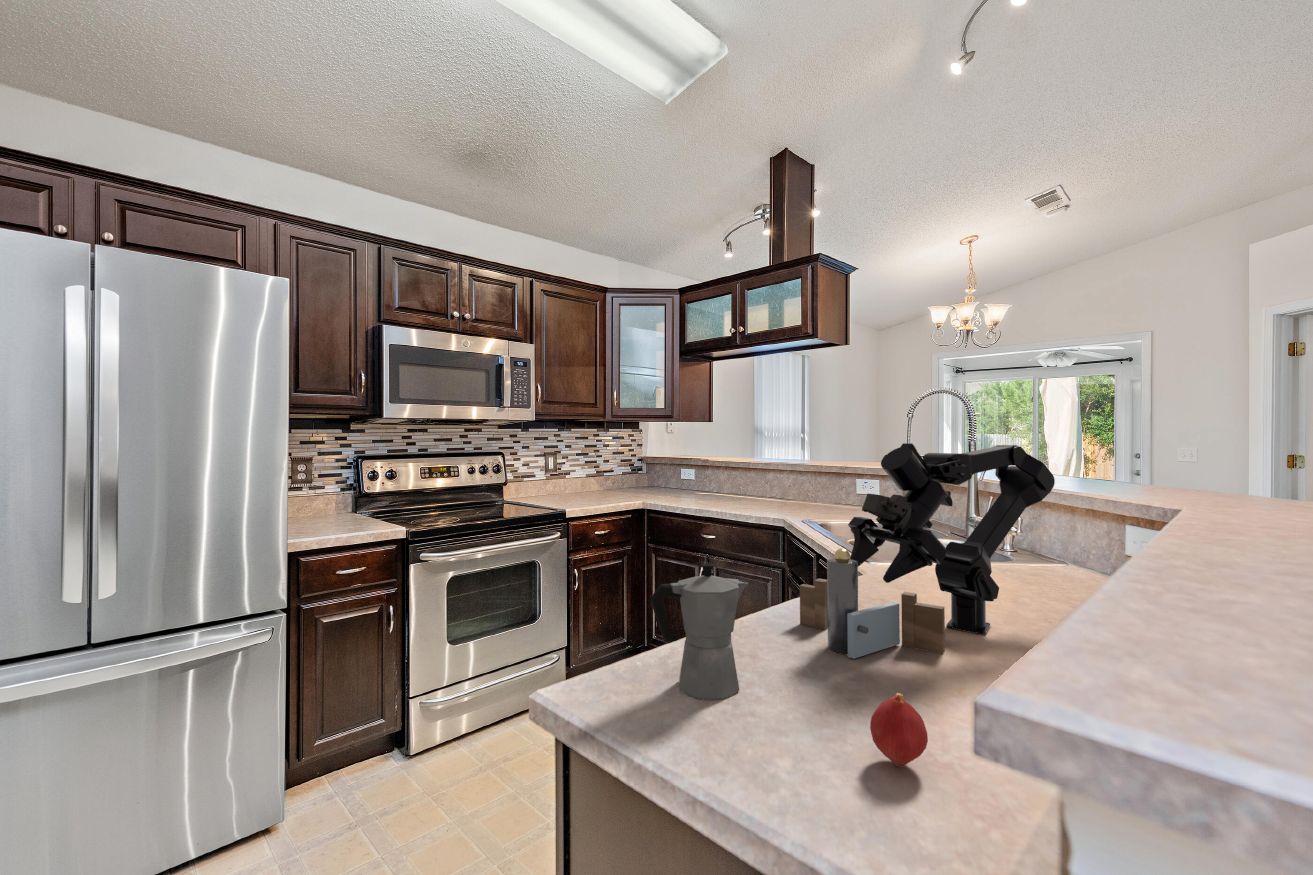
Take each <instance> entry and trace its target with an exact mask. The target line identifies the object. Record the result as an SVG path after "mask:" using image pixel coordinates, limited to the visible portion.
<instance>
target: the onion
mask: <svg viewBox="0 0 1313 875" xmlns="http://www.w3.org/2000/svg"><path fill="white" fill-rule="evenodd" d="M869 727H870V734H871V737H872V742H873V743H874V745H875V746H876V748H877V749H878V750H879V751H880V752H881V753H882V755H884V757H886V758H887V759H888V760H889V761H891V762H892V764H893V765H894V766H897V767H899V768H901V767H905V766H906V765H908V764H909V763H911V762H912V761H914V760H916V759H918V758H919V757H921V755H922V754H923V753H924V751H925V750H926V749H927V746H928V741H929V737H928V731H927V728H926V725H925V721H924V720H923V717H922V716H921V715H920V713H919V712H918V711H917V710H916V709H915V708H914V707H913V706H912V705H911V704H910V702H908V701H906V700H905V698H904V695H903V694H902V693H900V692H899V693H898V692H896V693H895V694H894V696H893V697H891V698H888V699H887V700H885V701H883V702H882V703H880V704H879V706H878V707H877V708H876V709H875V711H874V712H873V714H872V715H871V719H870V724H869Z"/></svg>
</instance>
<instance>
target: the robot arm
mask: <svg viewBox="0 0 1313 875" xmlns="http://www.w3.org/2000/svg"><path fill="white" fill-rule="evenodd" d="M880 466H881V468H882V469H883V470H884V472H885V473H886V474H887V475H888V477H889V478H890V480H891V481H892V482H893V483H894V484H895V485H896V487H897V489H899V490H901V491H903V492H905V494H904V495H900V494H892V495H891V496H885V495H881V494H876V493H875V494H874V493H866V497H865V499H864V502H863V505H862V507H861V510H862V512H865V513H869V514H871V515H873V516H875V517H876V518H875V521H876V522H877V523H878V524H879V525H881V526H882V527H879V526H878V525H877V523H875V521H874V520H873V519H872V518H868V517H863V516H853V518H851V520H850V521H849V522H848V524H847V525H848V526H847V527H849V528H850V532H851V533H852V535H853V537H854V542H853V546H852V551H851V553H850V559H851V560H855V561H857V562H858V568H859V567H860V566H861V565H863V564H864V563H865V562H866V561H867V560H869V559H870V558H872V557H873V556H874V555H875V554H876V553H878V552H879V550H880V549H879V547H881V546H883V545H884V544H885V542H890V543H894V544H898V545H899V550H898V552H897V554H896V555H895V557H894V559H893V561H892V562H891V564H890V565H889V566H888V568H887V569H886V571H885V573H884V575H883V577H882V579H883V581H884V582H885V583H886V584H890V583H891V582H893V581H895V580H898V579H900V578H901V577H903V576H905V575H908V574H910V573H913V572H915V571H917V570H920V569H922V568H925V567H927V566H928V567H931V566H932V565H933V564H935V567H934V572H935V575H936V580H937V583H938V586H939V590H940V591H942V592H946V593H950V596H951V597H950V601H951V602H950V603H951V604H950V607H951V608H950V609H951V610H950V612H951V613H950V614H951V615H950V617H951V618H950V620H949V621H948V622H947V623H946V624H945V625H946V626H945V627H946V628H947V629H952V630H958V631H963V632H968V633H974V634H979V635H986V634H987V632H988V631H989V629H990V627H991V623H990V622H987V620H986V618H987V617H986V616H987V614H986V610H987V609H986V606H987V605H986V604H987V603H986V602H994V601H995V600H997V599H998V595H999V591H1000V587H999V586H998V584H997V582H996V581H995V580H994V579H993V577H992V576H991V574H992V572H993V571H992V562H991V558H992V556H993V555H994V554H995V552H996V551H997V550H998V548H999V546H1000V545H1001V544H1002V542H1003V541H1004V540H1005V538H1006V537H1007V535H1008V534H1009V533H1010V531H1011V529H1012V528H1013V527H1014V525H1015V524H1016V523H1017V521H1018V519H1020V517H1021V515H1022V514H1023V512H1024V511H1025V510H1026V508H1029V507H1031V506H1033V505H1035V504H1037V503H1040V502H1042V501H1043V500H1044V499H1045V498H1046V497H1047V496H1049V494H1050V493H1051V492H1052V490H1053V488H1054V487H1055V482H1056V481H1055V480H1056V479H1055V476H1054V474H1053V473H1052V471H1051V470H1050V469H1049V468H1048V467H1047V466H1046V464H1045V463H1044V462H1042V461H1040V460H1039V459H1037V458H1036V457H1034V456H1032V455H1030V454H1028V453H1027V452H1026V451H1025V449H1024V448H1023V447H1021V446H1019V445H1017V444H996V445H994V446H992V447H991V446H990V447H987V448H982V449H978V450H972V451H971V450H970V451H967V452H962V453H956V452H955V453H952V452H951V453H949V452H948V453H947V452H927V453H925V454H924V455H922V456H921V455H920V453H919V452H918V450H917V448H916V446H915V445H914V444H913V443H906V442H905V443H904V442H903V443H902V444H901V445H900V447H897V448H894V449H893V450H891V451H889V452H888V453H887V454H885V455H884V456H883V457H882V459H881V461H880ZM992 470H995V471H994V474H995V477H996V478H997V479H998V480H999V489H1000V493H999V496H997V498H996V500H995V501H994V502H993V504H992V505H991V506H990V508H989V509H988V510H987V512H986V513H985V515H983V517H982V518H981V520H980V521H979V522H978V524H977V525H976V526H975V528H974V529H973V531H971V533H970V535H969V536H968V537H967V539H966V540H965V541H964V542H961V543H960V542H956V541H950V542H949V543H947V544H946V546H944V545H943V543H942V542H941V541H940V540H939V539H938V538H937V537H936V535H935V534H934V533H933V532H932V531H931V530H930V529H931V528H932V526H933V525H934V524H933V522H931V521H930V520H931V518H932V517H933V516H934V514H935V513H936V512H937V511H938V509H939V508H940V506H946V507H953V503H954V502H953V498H952V495H951V491H949V490H946V489H945V488H944V487H943V485H952V486H960V485H962V484H964V483H965V482H968V481H969V480H972V479H973V478H972V477H973V475H975V474H978V473H982V472H986V471H992Z"/></svg>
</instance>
